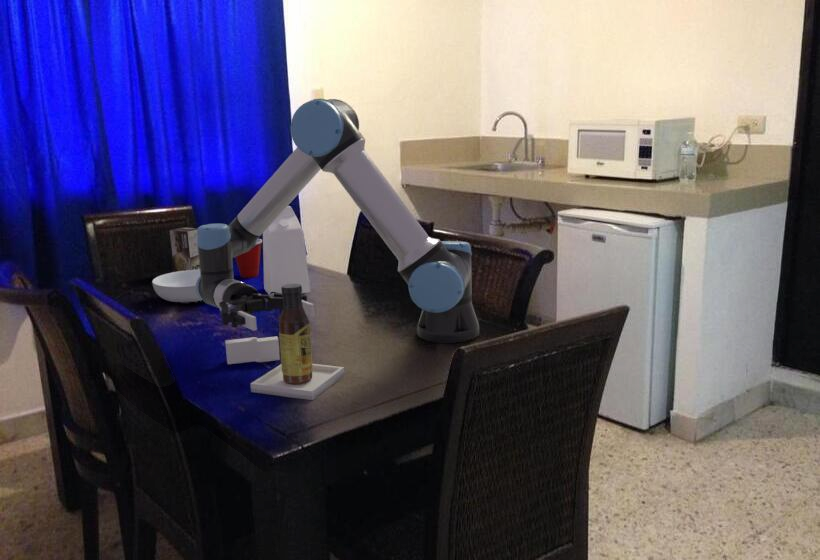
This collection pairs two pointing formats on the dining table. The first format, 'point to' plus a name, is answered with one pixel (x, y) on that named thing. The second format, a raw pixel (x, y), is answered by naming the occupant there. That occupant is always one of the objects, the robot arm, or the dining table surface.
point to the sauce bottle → (294, 337)
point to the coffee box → (184, 249)
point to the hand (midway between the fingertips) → (284, 317)
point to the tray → (308, 390)
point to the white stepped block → (252, 350)
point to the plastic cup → (250, 261)
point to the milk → (285, 253)
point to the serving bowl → (177, 286)
